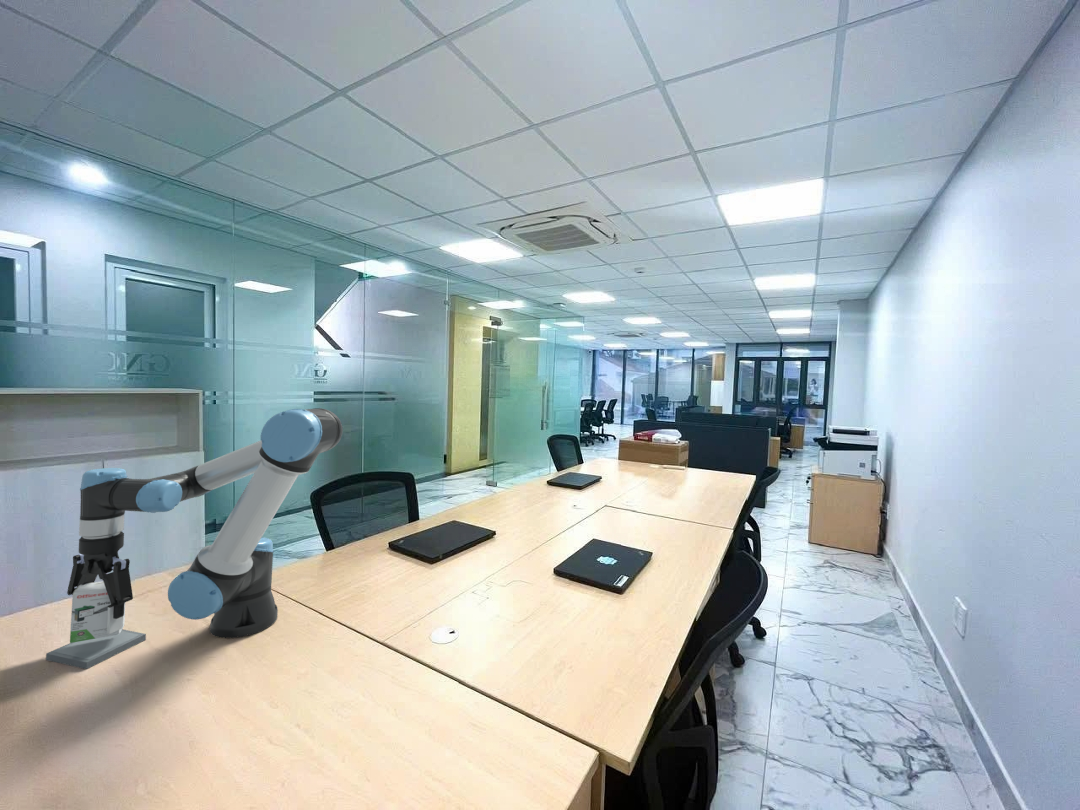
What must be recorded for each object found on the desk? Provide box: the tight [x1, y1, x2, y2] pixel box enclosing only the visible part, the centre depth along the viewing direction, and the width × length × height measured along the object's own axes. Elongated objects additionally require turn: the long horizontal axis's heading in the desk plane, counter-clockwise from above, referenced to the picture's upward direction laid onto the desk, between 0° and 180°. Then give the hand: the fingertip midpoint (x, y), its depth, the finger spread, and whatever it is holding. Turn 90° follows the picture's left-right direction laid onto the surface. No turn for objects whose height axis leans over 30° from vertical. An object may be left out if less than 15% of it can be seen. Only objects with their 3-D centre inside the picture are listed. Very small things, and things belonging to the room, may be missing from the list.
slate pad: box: [45, 628, 147, 670], centre depth 103 cm, size 12×12×2 cm
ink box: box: [69, 580, 126, 643], centre depth 102 cm, size 9×5×12 cm, turn 123°
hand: (98, 627), depth 103 cm, fingers closed on ink box, 9 cm apart
